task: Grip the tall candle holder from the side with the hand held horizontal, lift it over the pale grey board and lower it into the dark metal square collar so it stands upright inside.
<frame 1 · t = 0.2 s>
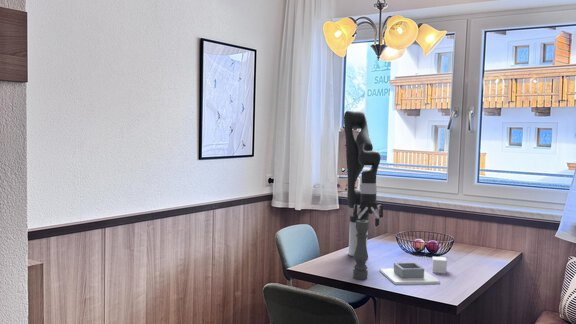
hand: (367, 226, 250), 18 cm above the table, tool pointing down, fingers open, 8 cm apart
candle holder: (360, 278, 226), on the table
collar board: (408, 276, 230), on the table
white cube: (438, 271, 240), on the table
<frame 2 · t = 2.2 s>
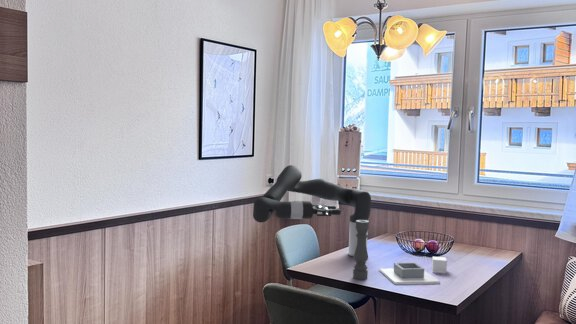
hand: (337, 210, 222), 30 cm above the table, tool horizontal, fingers open, 8 cm apart
nothing on the table moved.
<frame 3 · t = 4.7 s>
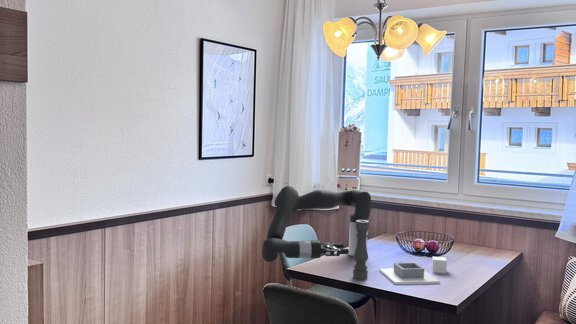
hand: (345, 248, 224), 13 cm above the table, tool horizontal, fingers open, 8 cm apart
nothing on the table moved.
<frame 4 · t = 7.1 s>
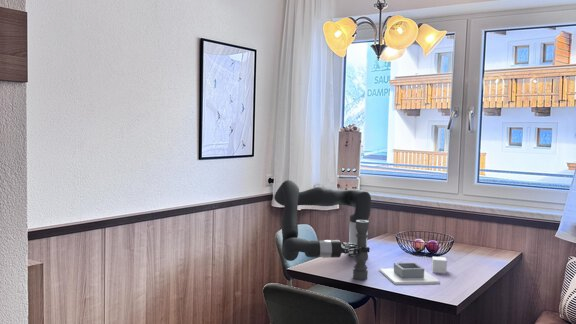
hand: (367, 248, 226), 13 cm above the table, tool horizontal, fingers closed on candle holder, 3 cm apart
candle holder: (360, 278, 226), on the table, touching gripper
everything else where it was.
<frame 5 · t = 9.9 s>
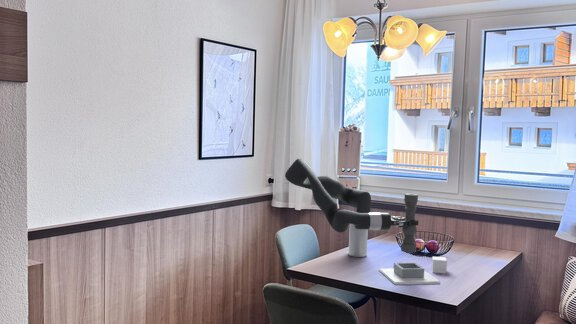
hand: (415, 221, 228), 25 cm above the table, tool horizontal, fingers closed on candle holder, 3 cm apart
candle holder: (408, 251, 229), point 12 cm above the table, touching gripper
everything else where it was.
when the fingers open (15 cm above the table, at t = 12.6 s): candle holder drops 1 cm, resting on collar board.
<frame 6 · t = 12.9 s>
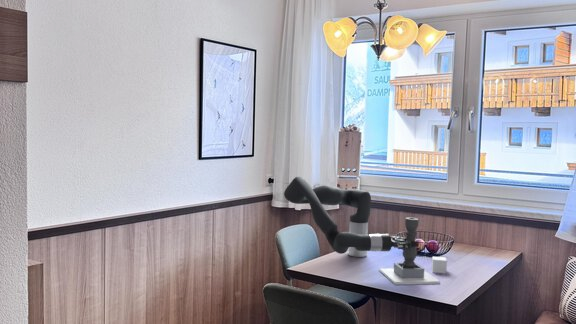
hand: (415, 242, 229), 16 cm above the table, tool horizontal, fingers open, 6 cm apart
candle holder: (408, 275, 229), point 1 cm above the table, touching collar board
everything else where it was.
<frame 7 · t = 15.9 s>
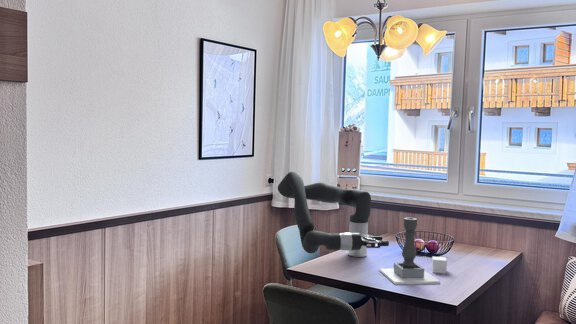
hand: (385, 241, 227), 16 cm above the table, tool horizontal, fingers open, 8 cm apart
nothing on the table moved.
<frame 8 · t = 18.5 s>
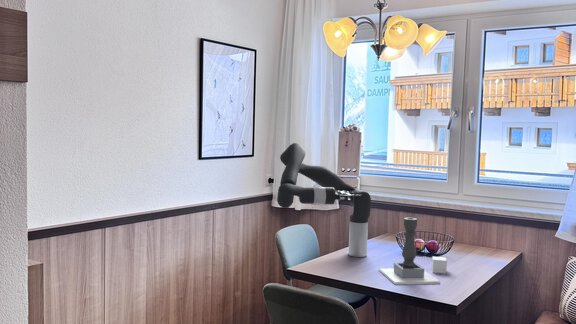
hand: (359, 195, 229), 35 cm above the table, tool horizontal, fingers open, 8 cm apart
nothing on the table moved.
at the end: candle holder 0.2 cm off-centre on the collar board, point 0.8 cm above the collar board's base; candle holder tilted 0°; the gripper is holding nothing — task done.
